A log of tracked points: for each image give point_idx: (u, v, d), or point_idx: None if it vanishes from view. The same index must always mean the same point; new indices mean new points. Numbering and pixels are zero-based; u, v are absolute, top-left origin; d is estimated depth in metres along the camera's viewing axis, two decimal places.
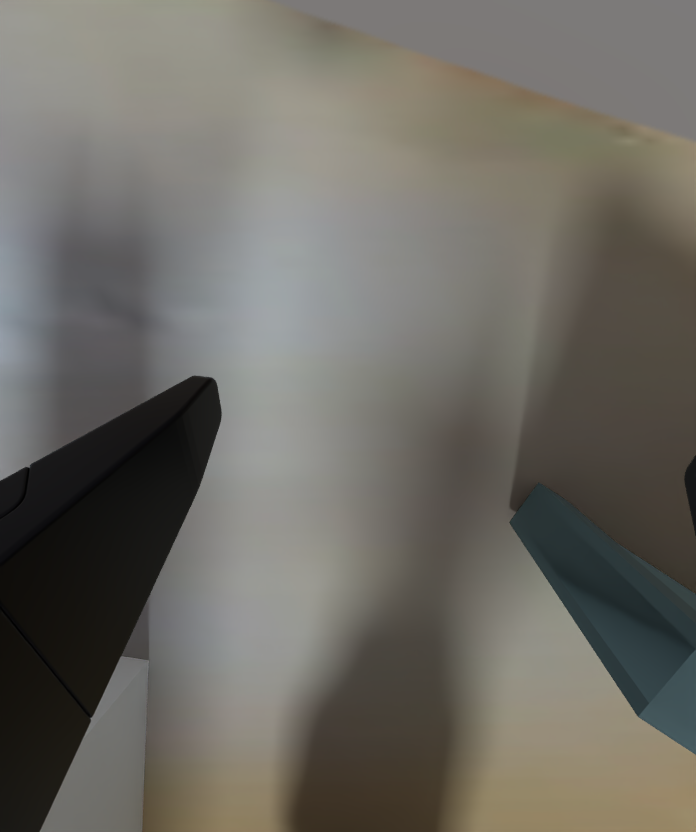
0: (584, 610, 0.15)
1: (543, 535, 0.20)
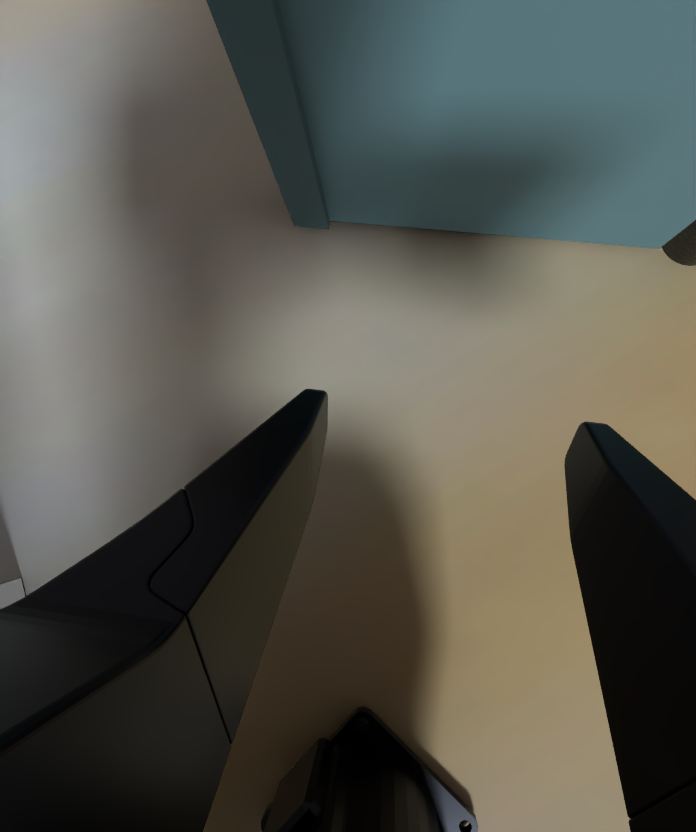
0: None
1: None
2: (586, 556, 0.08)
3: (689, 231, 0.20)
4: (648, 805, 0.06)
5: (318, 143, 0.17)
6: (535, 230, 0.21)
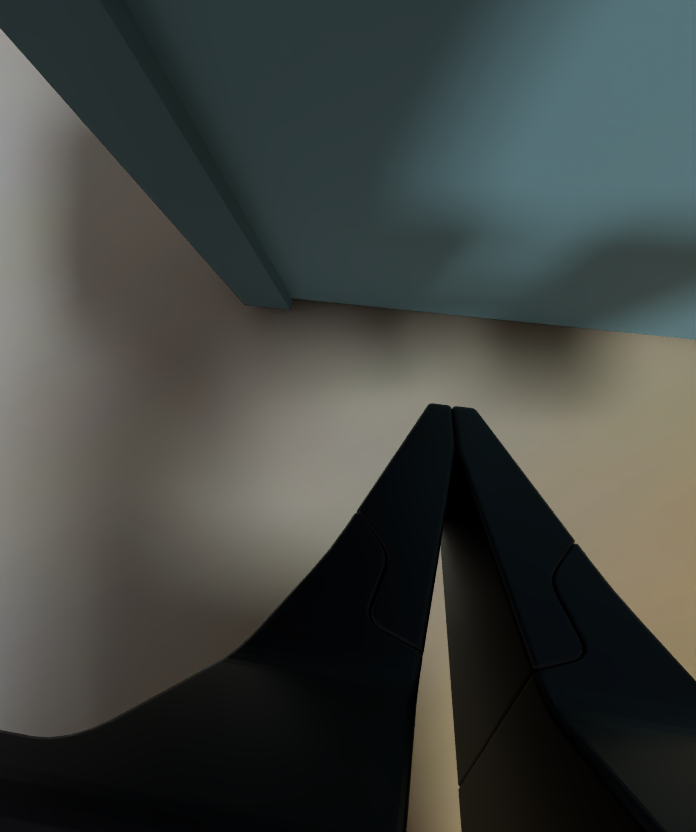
0: None
1: None
2: (445, 536, 0.08)
3: None
4: (466, 772, 0.06)
5: (256, 217, 0.11)
6: (572, 319, 0.15)
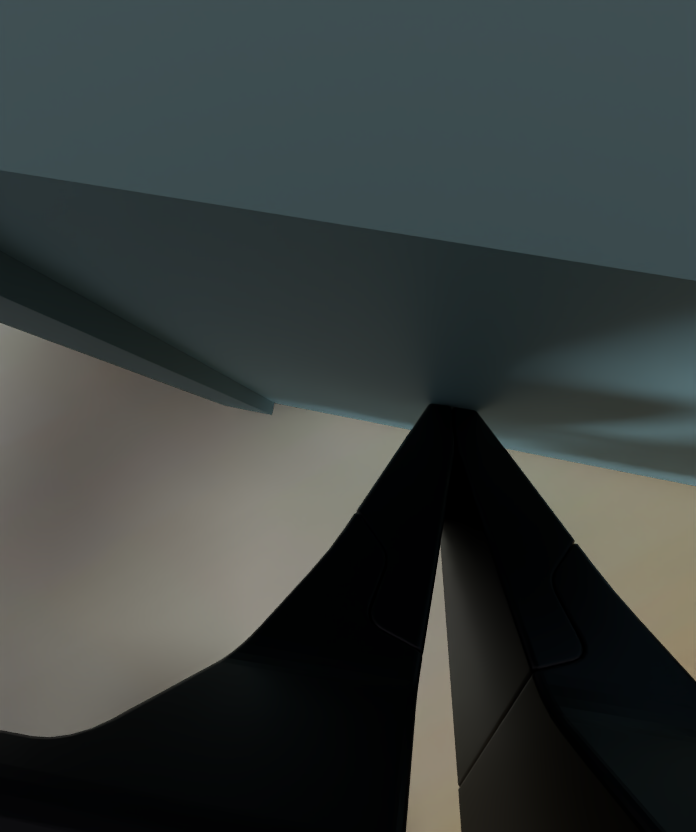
0: None
1: None
2: (445, 536, 0.08)
3: None
4: (466, 772, 0.06)
5: (227, 372, 0.10)
6: (564, 458, 0.14)
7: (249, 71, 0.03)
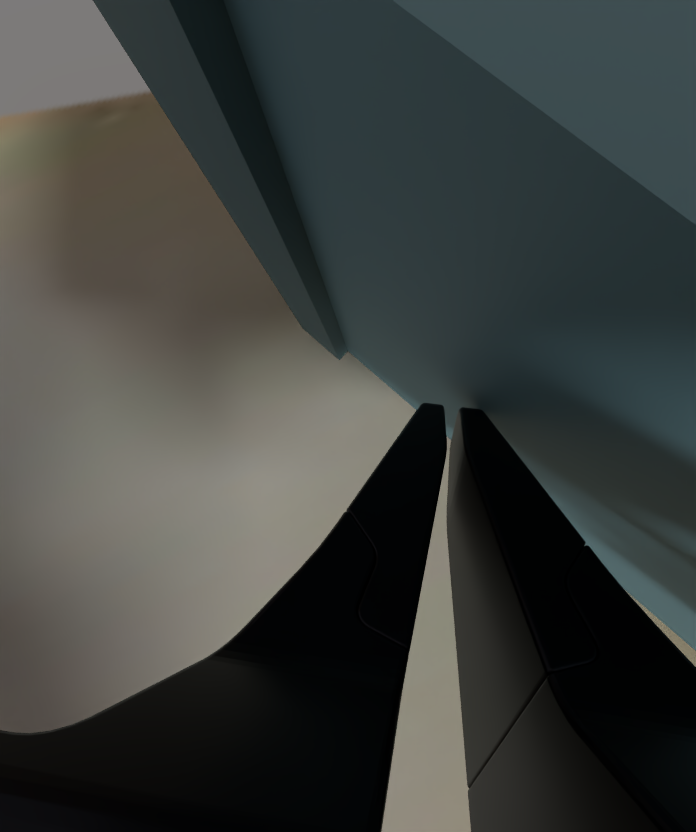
0: None
1: None
2: (453, 537, 0.08)
3: None
4: (477, 774, 0.06)
5: (335, 300, 0.10)
6: None
7: None
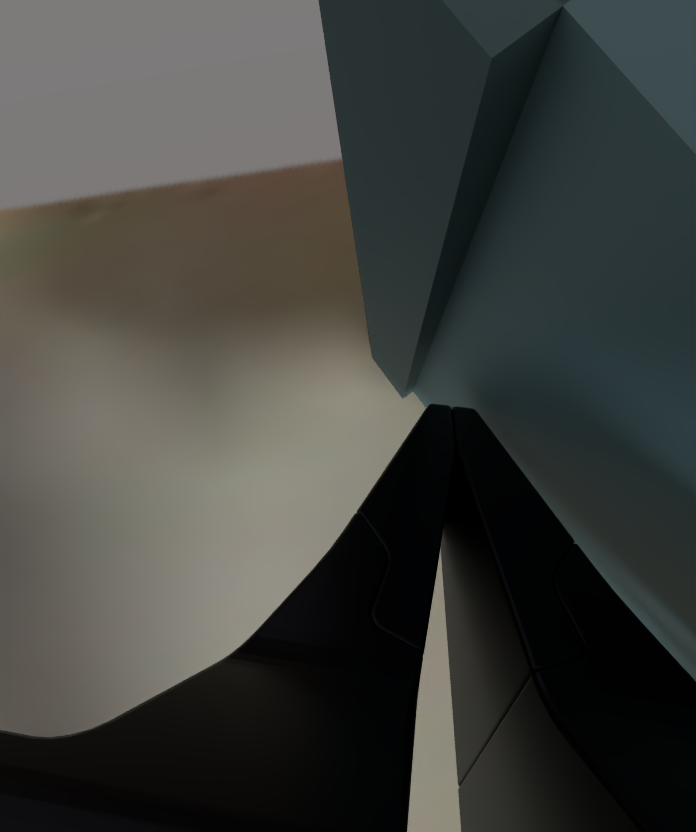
0: None
1: None
2: (445, 536, 0.08)
3: None
4: (466, 772, 0.06)
5: (435, 363, 0.10)
6: None
7: None
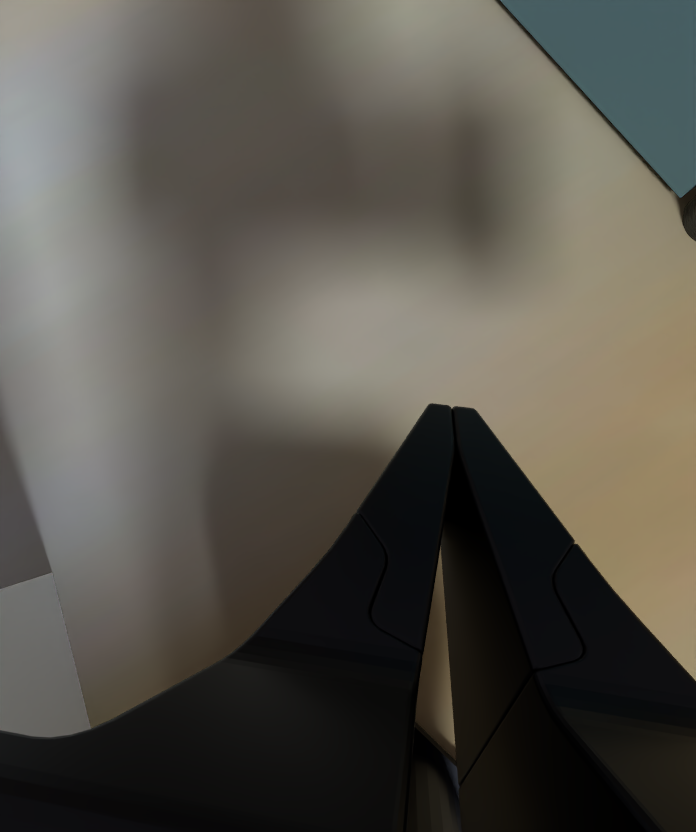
0: None
1: None
2: (445, 536, 0.08)
3: None
4: (466, 772, 0.06)
5: None
6: (602, 94, 0.21)
7: None
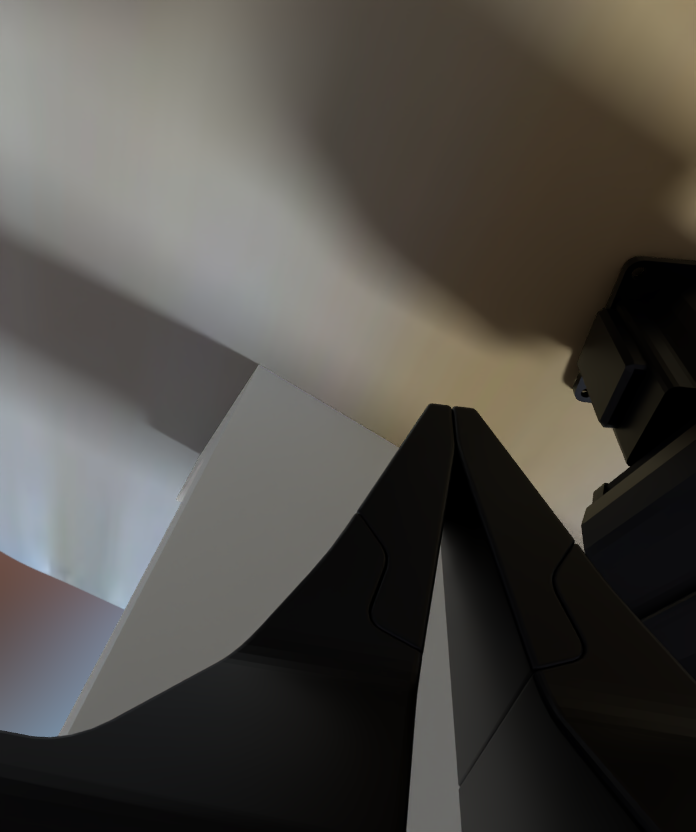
0: None
1: None
2: (445, 536, 0.08)
3: None
4: (466, 772, 0.06)
5: None
6: None
7: None
